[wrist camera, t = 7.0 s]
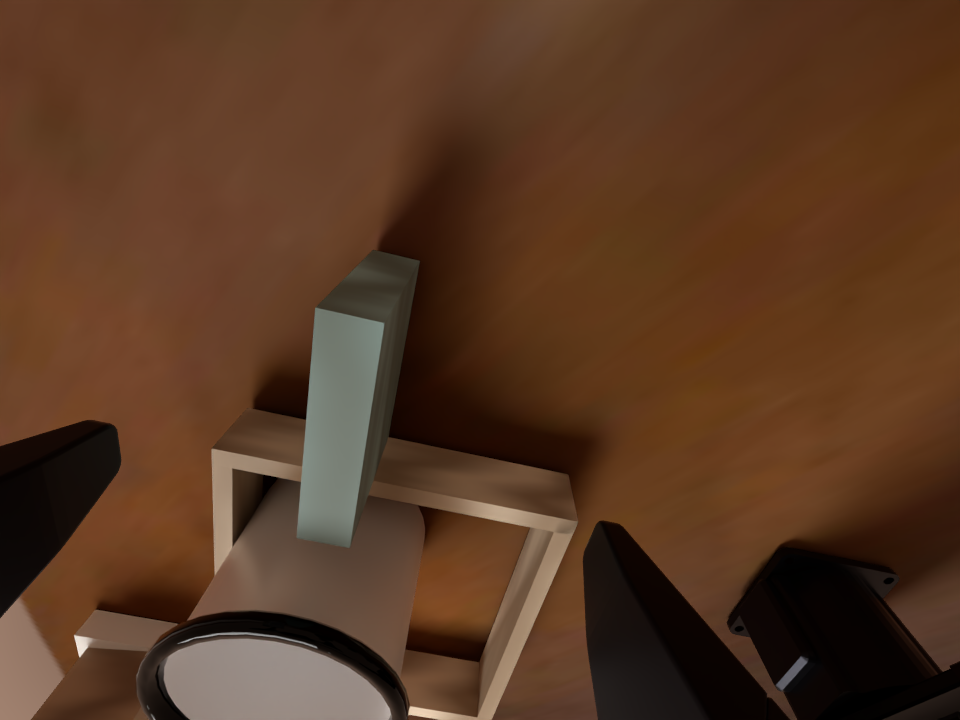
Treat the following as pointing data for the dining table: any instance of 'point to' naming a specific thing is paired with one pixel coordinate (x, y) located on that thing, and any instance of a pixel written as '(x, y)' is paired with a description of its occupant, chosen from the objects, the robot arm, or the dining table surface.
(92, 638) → the broken cream strip
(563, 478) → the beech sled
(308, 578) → the mug
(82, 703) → the beige cube
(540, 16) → the dining table surface
